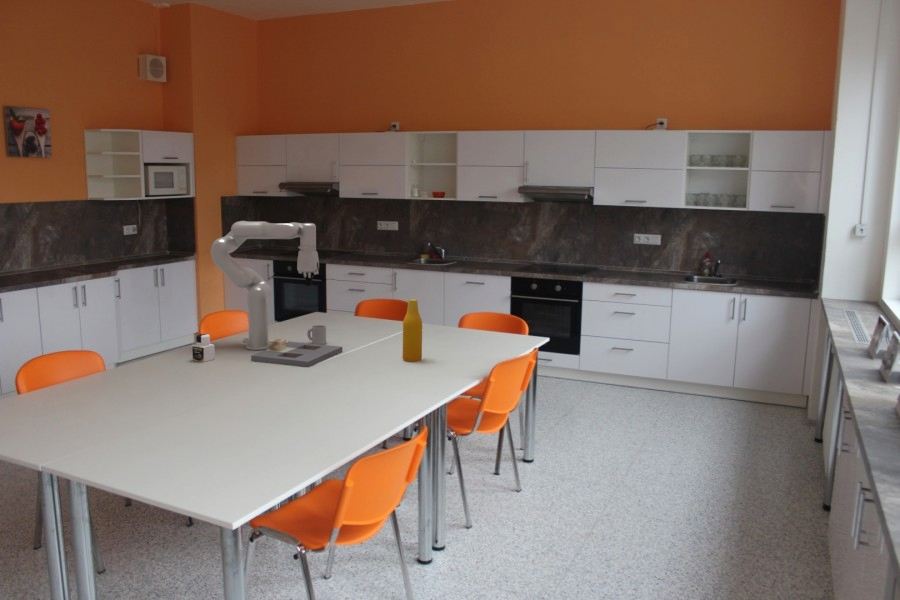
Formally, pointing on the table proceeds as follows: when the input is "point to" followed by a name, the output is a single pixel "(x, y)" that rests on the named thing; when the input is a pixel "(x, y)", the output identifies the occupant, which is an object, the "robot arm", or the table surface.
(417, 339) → the beer bottle
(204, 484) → the table surface
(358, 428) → the table surface
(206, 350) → the medicine bottle
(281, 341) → the beech block
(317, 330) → the cup
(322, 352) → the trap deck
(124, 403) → the table surface
